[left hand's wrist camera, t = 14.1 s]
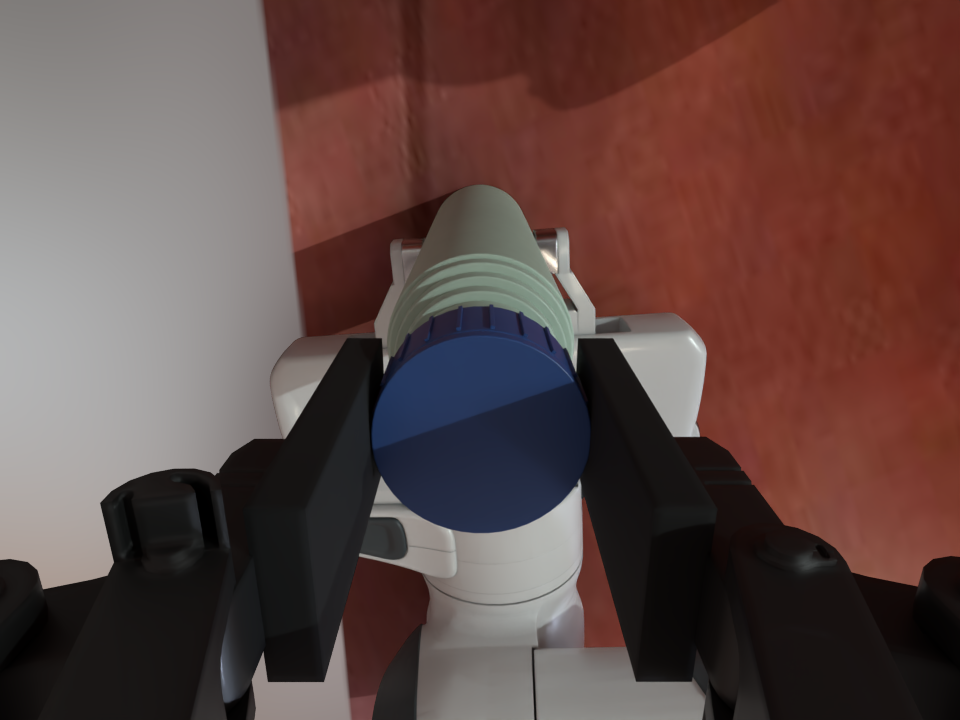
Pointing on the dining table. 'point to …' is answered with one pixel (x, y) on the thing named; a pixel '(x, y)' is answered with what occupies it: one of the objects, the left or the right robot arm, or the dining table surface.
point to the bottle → (480, 268)
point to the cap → (481, 421)
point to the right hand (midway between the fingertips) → (477, 234)
